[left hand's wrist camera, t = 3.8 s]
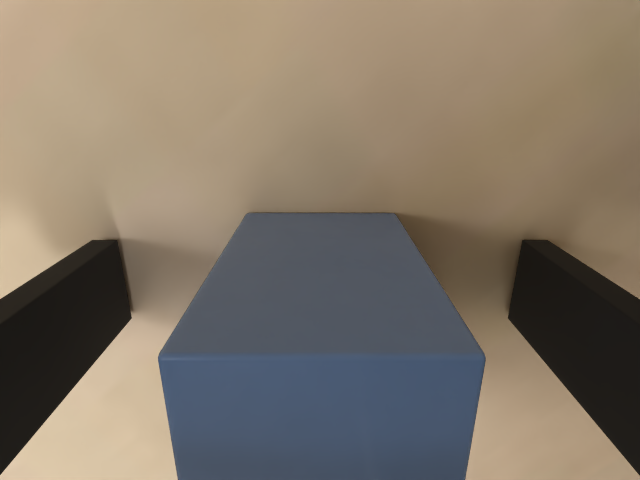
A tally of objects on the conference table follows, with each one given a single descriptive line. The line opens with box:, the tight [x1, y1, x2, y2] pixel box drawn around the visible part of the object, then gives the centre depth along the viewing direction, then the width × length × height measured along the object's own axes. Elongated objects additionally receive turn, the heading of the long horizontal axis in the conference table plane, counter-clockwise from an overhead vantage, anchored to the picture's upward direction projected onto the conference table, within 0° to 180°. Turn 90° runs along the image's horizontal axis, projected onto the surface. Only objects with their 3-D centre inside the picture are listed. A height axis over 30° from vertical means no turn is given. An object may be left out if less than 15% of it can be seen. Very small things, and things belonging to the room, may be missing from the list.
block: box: [158, 213, 486, 480], centre depth 9 cm, size 4×4×7 cm
